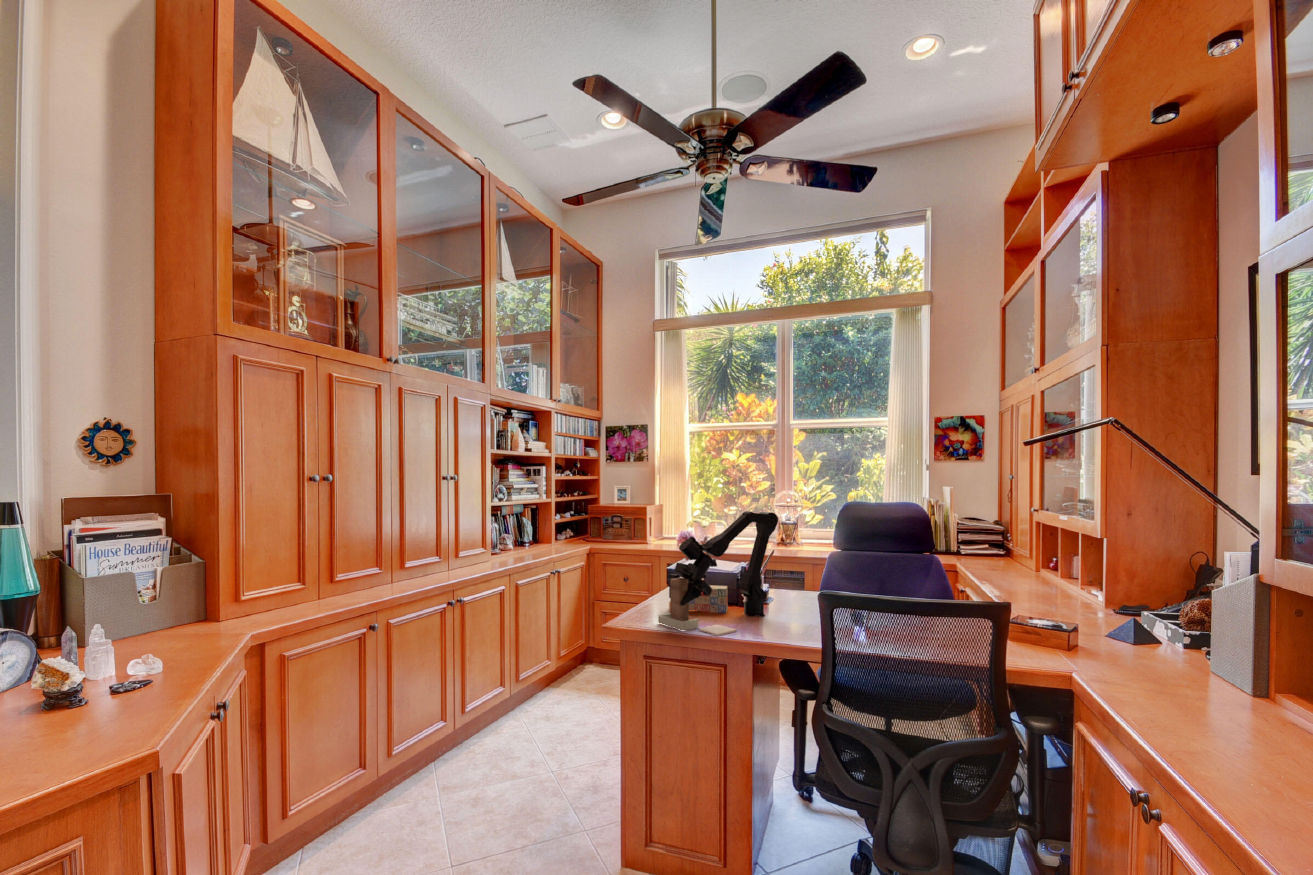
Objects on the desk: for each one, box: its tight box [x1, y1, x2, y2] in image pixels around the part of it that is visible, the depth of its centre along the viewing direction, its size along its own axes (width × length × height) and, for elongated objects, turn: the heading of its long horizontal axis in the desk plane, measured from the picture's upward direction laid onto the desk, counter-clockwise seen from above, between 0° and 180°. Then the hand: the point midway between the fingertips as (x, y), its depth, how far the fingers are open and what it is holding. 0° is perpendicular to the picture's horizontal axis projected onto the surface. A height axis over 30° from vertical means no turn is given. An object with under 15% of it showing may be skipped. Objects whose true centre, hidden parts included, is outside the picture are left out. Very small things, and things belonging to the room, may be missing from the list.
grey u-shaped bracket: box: [657, 612, 699, 631], centre depth 199 cm, size 7×13×3 cm, turn 39°
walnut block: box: [669, 578, 690, 622], centre depth 200 cm, size 4×4×16 cm
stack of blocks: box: [679, 576, 729, 614], centre depth 224 cm, size 21×6×12 cm, turn 76°
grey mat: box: [698, 624, 737, 637], centre depth 193 cm, size 9×9×1 cm
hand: (676, 603), depth 199 cm, fingers closed on walnut block, 4 cm apart
